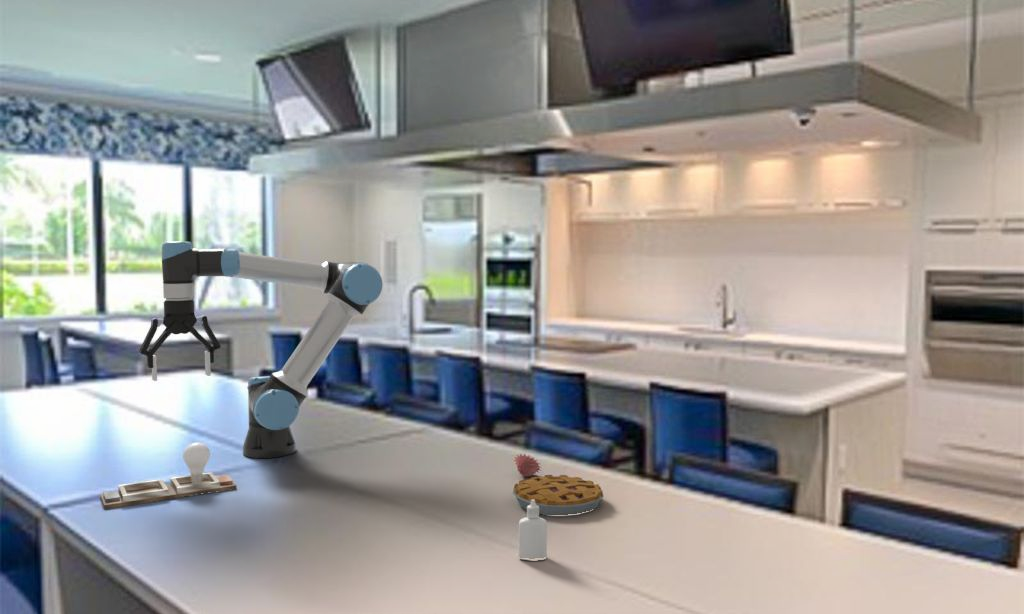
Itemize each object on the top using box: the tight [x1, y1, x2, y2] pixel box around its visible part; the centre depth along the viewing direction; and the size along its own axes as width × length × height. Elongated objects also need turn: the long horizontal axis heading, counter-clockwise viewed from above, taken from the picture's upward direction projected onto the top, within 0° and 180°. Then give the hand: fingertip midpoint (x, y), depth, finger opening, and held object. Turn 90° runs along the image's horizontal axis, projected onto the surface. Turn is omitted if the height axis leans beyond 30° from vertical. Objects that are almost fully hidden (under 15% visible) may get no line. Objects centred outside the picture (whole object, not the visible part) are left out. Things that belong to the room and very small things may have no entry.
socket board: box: [100, 471, 237, 510], centre depth 197 cm, size 30×10×2 cm, turn 122°
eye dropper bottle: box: [518, 499, 548, 559], centre depth 157 cm, size 4×6×12 cm
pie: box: [512, 474, 604, 516], centre depth 191 cm, size 22×22×5 cm
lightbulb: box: [182, 441, 211, 485], centre depth 200 cm, size 6×6×11 cm
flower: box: [514, 453, 542, 478], centre depth 214 cm, size 8×8×6 cm
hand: (181, 377), depth 213 cm, fingers open, 13 cm apart
